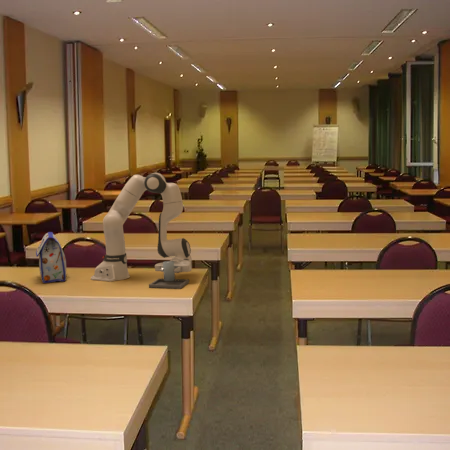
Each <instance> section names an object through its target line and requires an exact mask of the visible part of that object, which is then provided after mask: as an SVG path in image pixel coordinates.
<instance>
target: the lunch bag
mask: <svg viewBox="0 0 450 450" xmlns="http://www.w3.org/2000/svg"><path fill="white" fill-rule="evenodd" d="M35 255H36V258H39V259H38V266H39V274H40V279H41V282H42V283H43V284H49V283H54V282H65V281H66V280H67V259H66V255H65V253H64V251H63V248H62V246H61V242H60V241H59V239H58V238H57V237H56V235H55V234H54V233H53V231H48V232H47V233H45V234H44V235H43V237H42V239H41V241H40V243H39V245H38V246H37V249H36V251H35Z"/></svg>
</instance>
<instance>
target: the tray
mask: <svg viewBox="0 0 450 450" xmlns="http://www.w3.org/2000/svg"><path fill="white" fill-rule="evenodd" d="M189 283H190V279H184V278H183V279H182V278H181V279H179V278H178V279H177V278H175V280H174V281H164V278H157V279H155V280H153V282H151V283H149V284H148V289H167V290H169V289H170V290H171V289H172V290H173V289H174V290H181V289H183V288H184V287H185V286H187V285H188V284H189Z"/></svg>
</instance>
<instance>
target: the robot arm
mask: <svg viewBox="0 0 450 450" xmlns="http://www.w3.org/2000/svg"><path fill="white" fill-rule="evenodd" d="M146 191H148V192H150V193H152V194H153V193H154V194H160V195H161V197H162V205H163V208H162V212H160V213H159V217H158V235H157V236H158V239H157V253H158V255H159V256H161V257H162V258H170V257H173V258H171V259H170V260H169V261H174V269H173V270H174V272H175V274H178V273H188V272H191V271H192V267H193V266H192V255H191V252H192V251H191V250H192V249H191V244H190V242H189V241H188V240H187V239H186V238H184V237H183V238H181V237H180V238H174V239H168V238H167V237H168V235H167V234H168V233H167V231H168V223H170V222H171V221H172V220H174V219H177V217H179V216H180V215H182V212H183V210H184V205H183V203H184V202H183V197H182V192H181V190H180V187H179V185H178V184H177V183H174V182H167V179H166V176H165V175H164V174H161V173H160V172H153V173H149V174H148V175H147V176H143V175H140V174H134V175H132V176H131V177H130V178H129V179H128V181H127V182H126V183H125V185H124V186H123V188H122V189H121V191H120V192H119V194H118V196H117V197H116V199H115V200H114V202H113V204H112V206H111V207H110V209H109V210H108V212H107V213H106V215H105V216H104V217H103V219H102V228H103V235H104V241H105V242H104V243H105V253H106V254H104V255H103V256H102V259H103V260H102V262H101V263H99V264H98V265H97V266H96V267H95V269H94V275H92V276H90V280H92V281H102V282H115V281H122V280H126V279H129V278H130V273H129V269H128V264H127V263H128V256H127V253H126V240H125V232H124V224H125V222H126V221H127V219H128V218H129V216H130V214H131V213H132V212H133V209H134V208H135V206H136V205H137V204H138V203H139V200H140V199H141V197H142V195H143V194H144V193H145V192H146ZM154 270H155V272H162V273H164V272H163V262H158V263H156V264H155V265H154Z"/></svg>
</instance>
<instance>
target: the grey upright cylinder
mask: <svg viewBox="0 0 450 450" xmlns="http://www.w3.org/2000/svg"><path fill="white" fill-rule="evenodd" d="M162 263H163V272H162V273H163V279H164V281H174V280H175V279H176V277H175V276H176V275H175V274H176V273H175V272H174V270H173V269H174V261H170V260H166V261H162Z"/></svg>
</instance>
